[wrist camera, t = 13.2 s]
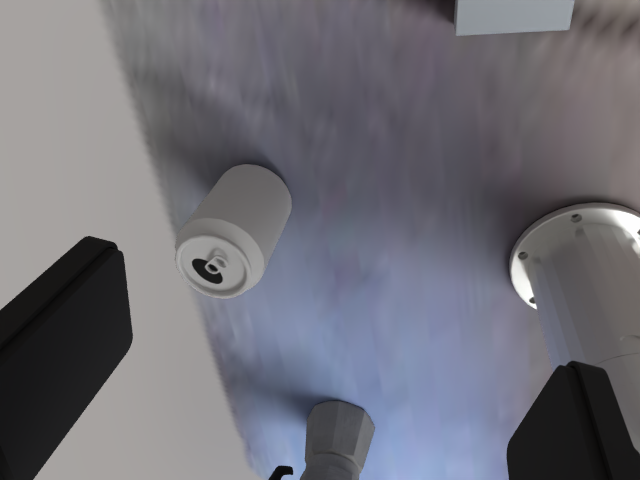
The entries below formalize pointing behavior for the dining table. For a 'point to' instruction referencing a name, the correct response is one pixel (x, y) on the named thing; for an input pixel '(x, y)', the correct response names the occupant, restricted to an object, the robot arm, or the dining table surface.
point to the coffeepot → (334, 443)
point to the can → (233, 232)
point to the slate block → (511, 16)
